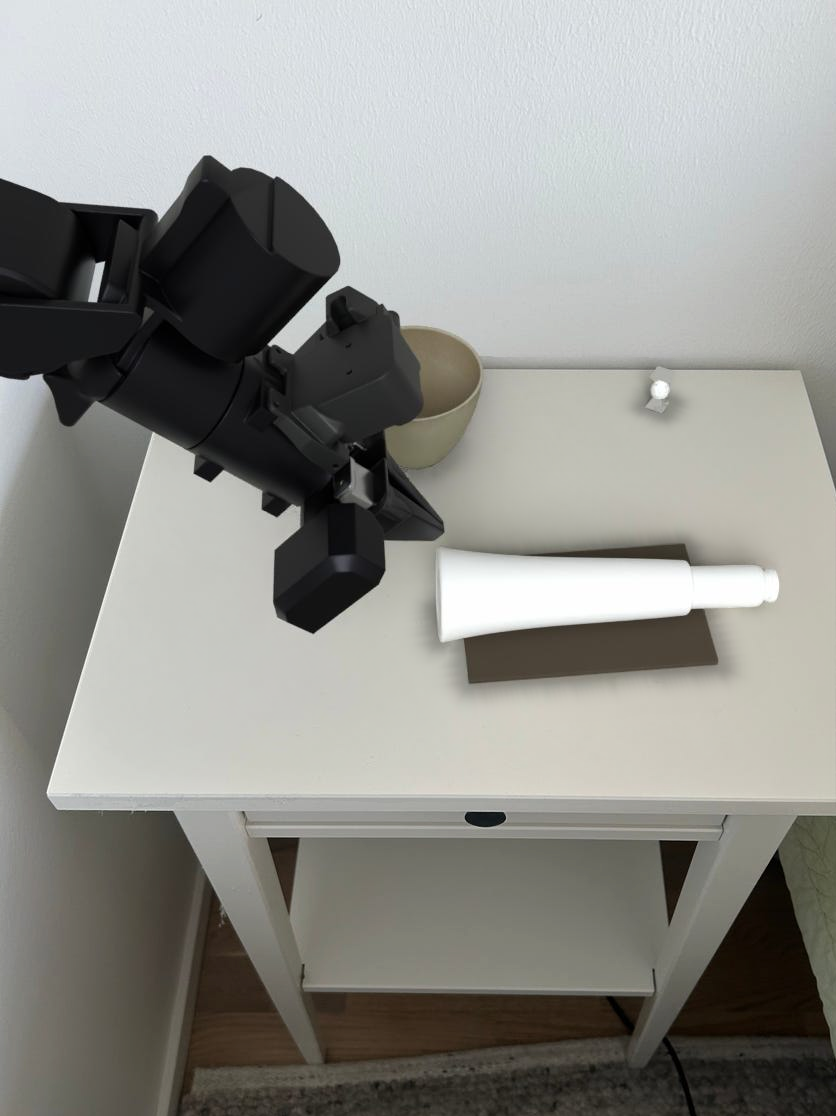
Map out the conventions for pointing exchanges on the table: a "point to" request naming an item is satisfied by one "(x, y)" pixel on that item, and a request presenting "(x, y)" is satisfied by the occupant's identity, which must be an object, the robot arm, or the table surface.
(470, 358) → the bowl
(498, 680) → the mat
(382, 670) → the table surface
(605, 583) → the cosmetic bottle
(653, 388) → the wrapped candy
